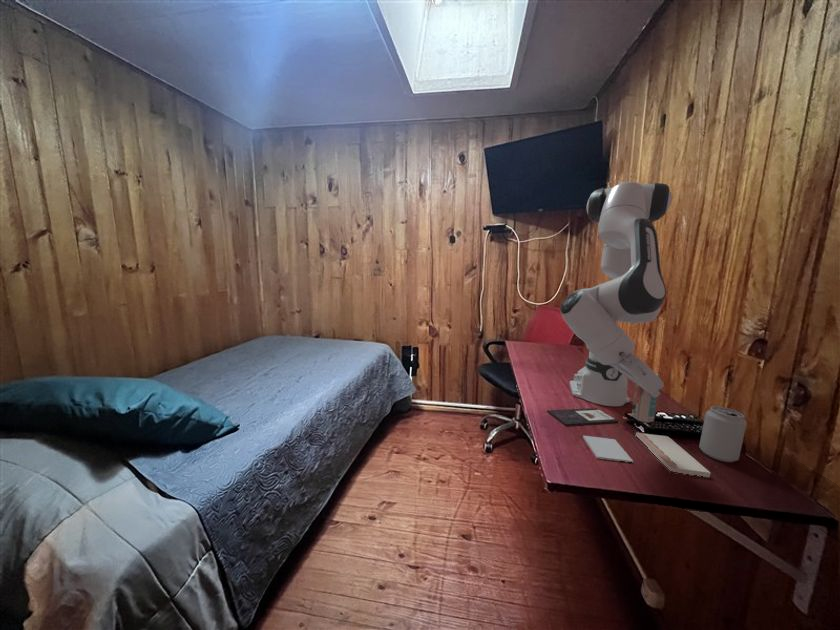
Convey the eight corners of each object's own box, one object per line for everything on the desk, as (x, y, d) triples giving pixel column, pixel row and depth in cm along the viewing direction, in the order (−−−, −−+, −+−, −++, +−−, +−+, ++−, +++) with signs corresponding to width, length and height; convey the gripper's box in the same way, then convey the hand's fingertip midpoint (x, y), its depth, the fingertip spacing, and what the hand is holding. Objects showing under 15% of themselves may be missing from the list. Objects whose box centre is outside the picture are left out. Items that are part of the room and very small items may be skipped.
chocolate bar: (547, 410, 103) (596, 408, 106) (546, 413, 103) (595, 410, 107) (565, 424, 94) (618, 421, 98) (565, 427, 94) (617, 424, 98)
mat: (582, 437, 88) (583, 435, 88) (614, 441, 87) (614, 439, 87) (597, 458, 78) (597, 456, 78) (633, 463, 77) (633, 461, 77)
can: (732, 467, 78) (742, 420, 76) (693, 451, 84) (702, 407, 82) (742, 459, 82) (752, 413, 80) (704, 444, 88) (713, 402, 86)
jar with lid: (632, 412, 85) (638, 368, 83) (654, 418, 82) (661, 372, 80) (629, 419, 81) (635, 373, 79) (653, 425, 78) (660, 377, 76)
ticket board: (635, 436, 90) (636, 432, 90) (667, 440, 89) (668, 435, 89) (670, 472, 74) (671, 467, 74) (709, 477, 73) (710, 472, 73)
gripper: (646, 351, 69) (688, 399, 69) (606, 331, 89) (639, 369, 89) (620, 369, 70) (662, 416, 71) (587, 345, 90) (619, 383, 91)
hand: (649, 390), depth 80 cm, fingers closed on jar with lid, 5 cm apart
